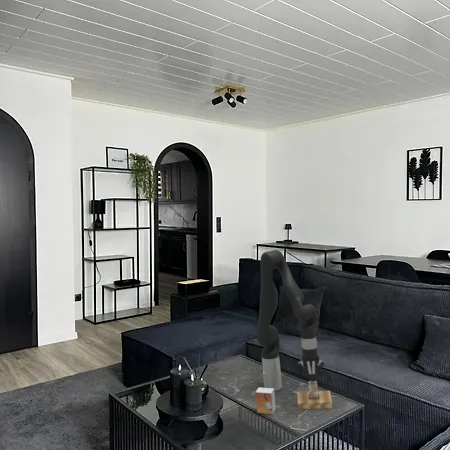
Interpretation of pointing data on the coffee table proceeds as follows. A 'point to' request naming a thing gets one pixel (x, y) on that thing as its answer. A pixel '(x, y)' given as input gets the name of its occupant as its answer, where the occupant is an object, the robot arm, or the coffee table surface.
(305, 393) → the oak board
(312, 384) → the ash peg
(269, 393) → the small box
